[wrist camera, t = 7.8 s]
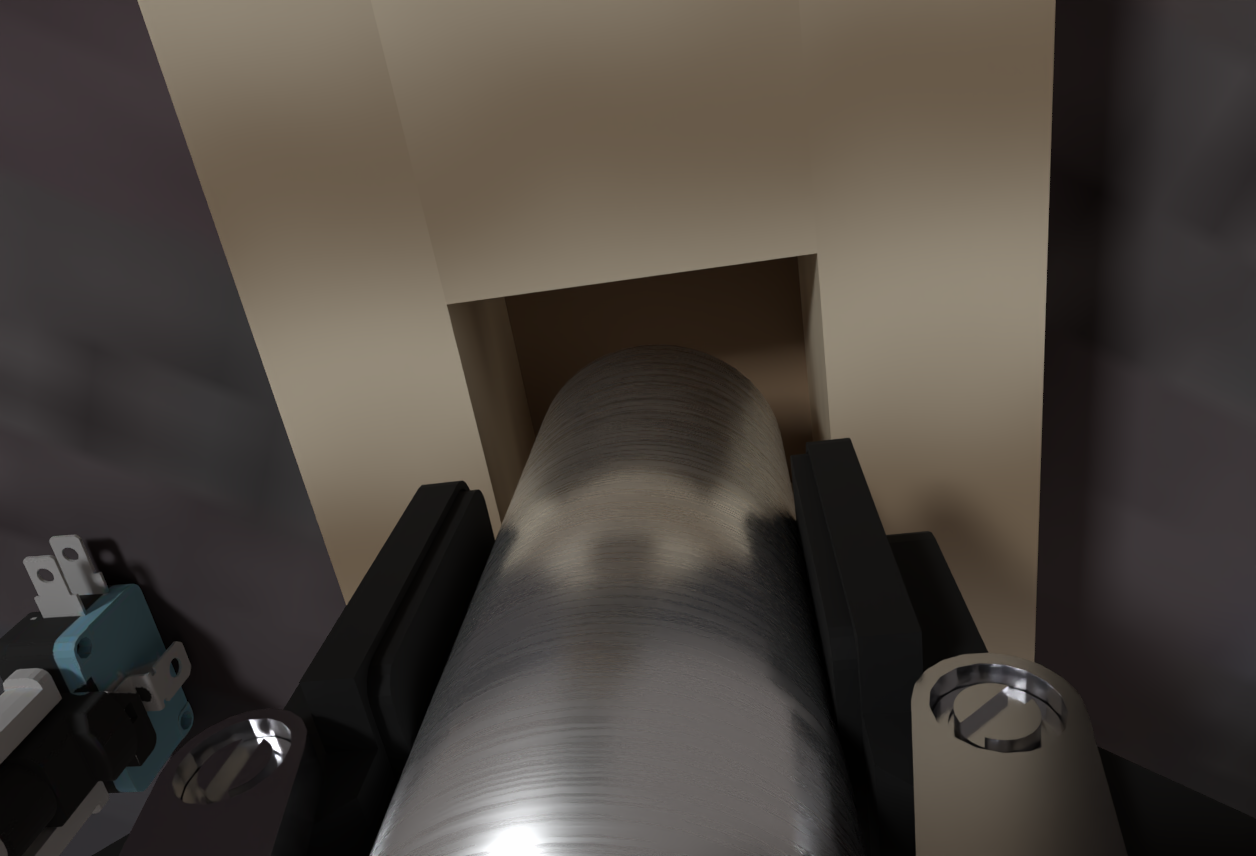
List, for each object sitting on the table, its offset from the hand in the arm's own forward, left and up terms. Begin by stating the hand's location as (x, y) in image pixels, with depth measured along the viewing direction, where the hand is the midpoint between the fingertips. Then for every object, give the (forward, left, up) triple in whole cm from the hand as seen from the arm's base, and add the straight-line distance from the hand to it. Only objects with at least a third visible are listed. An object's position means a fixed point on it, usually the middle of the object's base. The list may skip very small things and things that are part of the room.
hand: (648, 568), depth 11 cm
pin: (0, 0, -3) cm, 3 cm away
